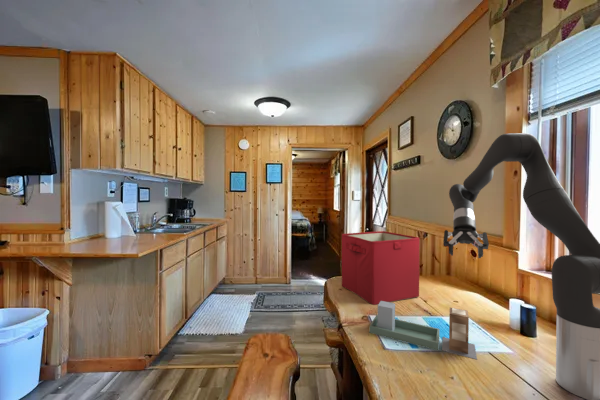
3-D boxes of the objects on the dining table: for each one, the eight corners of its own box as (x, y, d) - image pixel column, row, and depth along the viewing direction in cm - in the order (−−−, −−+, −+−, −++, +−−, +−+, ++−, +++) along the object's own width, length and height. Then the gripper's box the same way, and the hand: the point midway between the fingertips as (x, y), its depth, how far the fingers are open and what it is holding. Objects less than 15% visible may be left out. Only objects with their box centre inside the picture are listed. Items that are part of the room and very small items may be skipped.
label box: (467, 345, 84) (467, 310, 84) (468, 354, 79) (468, 317, 79) (449, 340, 86) (449, 306, 86) (449, 349, 82) (449, 313, 81)
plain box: (394, 328, 95) (395, 303, 94) (392, 334, 90) (392, 308, 90) (380, 325, 97) (380, 300, 97) (377, 330, 93) (377, 305, 93)
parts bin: (439, 337, 90) (439, 328, 90) (438, 352, 81) (438, 343, 81) (376, 322, 100) (376, 314, 100) (369, 333, 91) (369, 325, 91)
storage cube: (369, 307, 114) (370, 240, 114) (337, 287, 140) (337, 232, 140) (424, 297, 126) (425, 237, 126) (386, 280, 152) (386, 230, 152)
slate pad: (474, 346, 84) (474, 344, 84) (477, 361, 77) (477, 359, 77) (442, 338, 89) (442, 336, 89) (441, 352, 81) (441, 350, 81)
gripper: (443, 214, 106) (443, 247, 96) (486, 216, 99) (490, 251, 89) (443, 226, 111) (443, 259, 101) (485, 229, 104) (488, 263, 94)
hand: (465, 255), depth 95 cm, fingers open, 8 cm apart
